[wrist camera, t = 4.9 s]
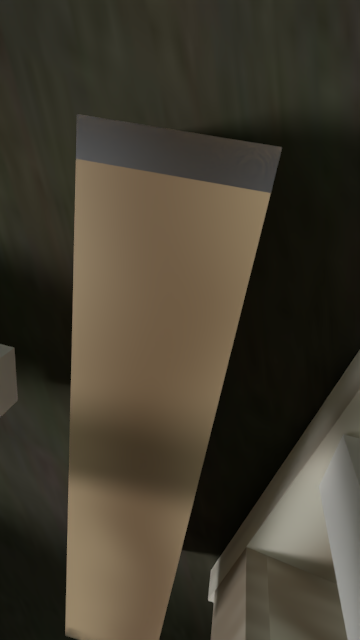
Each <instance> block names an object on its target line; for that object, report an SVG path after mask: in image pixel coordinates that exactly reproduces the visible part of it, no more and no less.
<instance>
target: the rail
mask: <svg viewBox="0 0 360 640" xmlns="http://www.w3.org/2000/svg"><path fill="white" fill-rule="evenodd" d="M281 151H282V147H278V146H272V145H266V144H259V143H253V142H247V141H241V140H235V139H228V138H222V137H216V136H210V135H204V134H197V133H191V132H185V131H179V130H172V129H166V128H160V127H154V126H148V125H141V124H135V123H129V122H123V121H117V120H110V119H104V118H98V117H92V116H86V115H79V114H77V138H76V182H75V226H74V270H73V314H72V358H71V402H70V446H69V490H68V534H67V577H66V621H65V635H66V636H69V637H72V638H75V639H78V640H159V638H160V634H161V630H162V626H163V622H164V618H165V614H166V610H167V606H168V602H169V598H170V594H171V590H172V586H173V582H174V578H175V574H176V570H177V566H178V562H179V558H180V554H181V550H182V546H183V542H184V538H185V534H186V530H187V526H188V522H189V518H190V514H191V510H192V506H193V502H194V498H195V494H196V490H197V486H198V482H199V478H200V474H201V470H202V466H203V462H204V458H205V454H206V450H207V446H208V442H209V438H210V434H211V430H212V426H213V422H214V418H215V414H216V410H217V406H218V402H219V398H220V394H221V390H222V386H223V382H224V378H225V374H226V370H227V366H228V362H229V358H230V354H231V350H232V346H233V342H234V338H235V334H236V330H237V326H238V322H239V318H240V314H241V310H242V306H243V302H244V298H245V294H246V290H247V286H248V282H249V278H250V274H251V270H252V266H253V262H254V258H255V254H256V250H257V246H258V242H259V238H260V234H261V230H262V226H263V222H264V218H265V214H266V210H267V207H268V203H269V199H270V195H271V191H272V187H273V183H274V179H275V175H276V171H277V167H278V163H279V159H280V155H281Z"/></svg>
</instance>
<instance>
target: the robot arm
mask: <svg viewBox="0 0 360 640" xmlns="http://www.w3.org/2000/svg"><path fill="white" fill-rule="evenodd" d="M17 401H18V395H17V379H16V364H15V348H14V347H10V346H6V345H2V344H0V417H1V416H2V415H3V414H4V413H5V412H6V411H7V410H8V409H9V408H10V407H11V406H12V405H13V404H14V403H16V402H17ZM319 490H320V496H321V501H322V506H323V512H324V517H325V522H326V527H327V533H328V538H329V543H330V549H331V554H332V559H333V565H334V570H335V575H336V581H337V586H338V591H339V596H340V602H341V607H342V612H343V618H344V623H345V628H346V634H347V639H348V640H360V438H356V437H352V436H348V435H344V434H343V436H342V438H341V440H340V442H339V444H338V446H337V448H336V451H335V453H334V455H333V457H332V459H331V461H330V463H329V465H328V468H327V470H326V472H325V474H324V476H323V478H322V480H321V482H320V485H319Z"/></svg>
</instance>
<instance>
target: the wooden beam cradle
mask: <svg viewBox="0 0 360 640" xmlns="http://www.w3.org/2000/svg"><path fill="white" fill-rule="evenodd" d="M343 434H344V435H348V436H352V437H356V438H360V350H359V351H358V353H357V354H356V356H355V357H354V359H353V360H352V362H351V363H350V365H349V366H348V368H347V369H346V371H345V372H344V374H343V375H342V377H341V378H340V380H339V381H338V382H337V384H336V385H335V387H334V388H333V390H332V391H331V393H330V394H329V396H328V397H327V399H326V400H325V402H324V403H323V405H322V406H321V408H320V409H319V411H318V412H317V414H316V415H315V417H314V418H313V420H312V421H311V423H310V424H309V425H308V427H307V428H306V430H305V431H304V433H303V434H302V436H301V437H300V439H299V440H298V442H297V443H296V445H295V446H294V448H293V449H292V451H291V452H290V454H289V455H288V457H287V458H286V460H285V461H284V463H283V464H282V465H281V467H280V468H279V470H278V471H277V473H276V474H275V476H274V477H273V479H272V480H271V482H270V483H269V485H268V486H267V488H266V489H265V491H264V492H263V494H262V495H261V497H260V498H259V500H258V501H257V503H256V504H255V506H254V507H253V508H252V510H251V511H250V513H249V514H248V516H247V517H246V519H245V520H244V522H243V523H242V525H241V526H240V528H239V529H238V531H237V532H236V534H235V535H234V537H233V538H232V540H231V541H230V543H229V544H228V546H227V547H226V549H225V550H224V551H223V553H222V554H221V556H220V557H219V559H218V560H217V562H216V563H215V565H214V566H213V568H212V569H211V574H210V584H209V594H208V601H211V602H213V603H214V606H213V618H212V630H211V640H348V639H347V634H346V628H345V623H344V618H343V612H342V607H341V602H340V596H339V591H338V586H337V581H336V575H335V570H334V565H333V559H332V554H331V549H330V543H329V538H328V533H327V527H326V522H325V517H324V512H323V506H322V501H321V496H320V490H319V485H320V482H321V480H322V478H323V476H324V474H325V472H326V470H327V468H328V465H329V463H330V461H331V459H332V457H333V455H334V453H335V451H336V448H337V446H338V444H339V442H340V440H341V438H342V436H343Z"/></svg>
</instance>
